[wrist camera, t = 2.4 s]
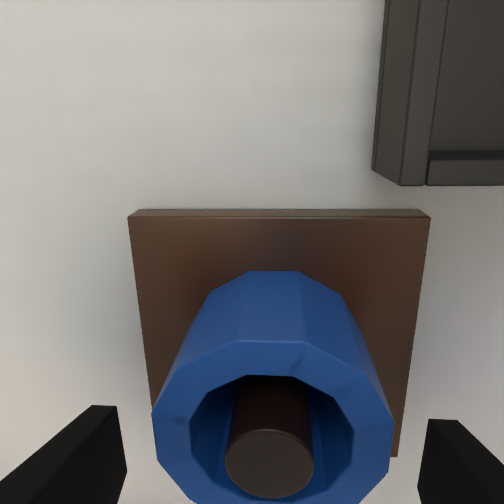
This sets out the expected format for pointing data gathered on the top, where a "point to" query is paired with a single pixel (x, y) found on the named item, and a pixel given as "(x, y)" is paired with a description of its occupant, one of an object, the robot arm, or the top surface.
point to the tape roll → (274, 364)
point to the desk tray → (441, 93)
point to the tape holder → (281, 259)
